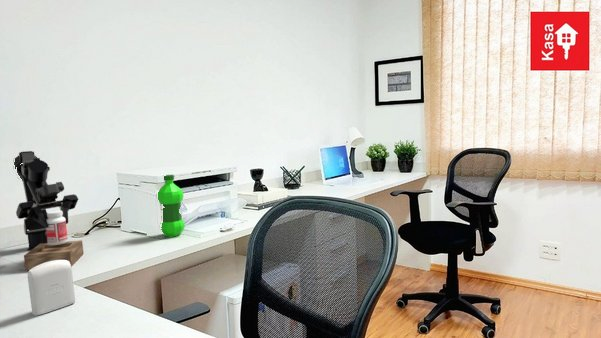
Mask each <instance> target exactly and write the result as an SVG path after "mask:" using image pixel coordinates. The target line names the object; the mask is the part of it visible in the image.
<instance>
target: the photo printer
mask: <svg viewBox="0 0 601 338" xmlns="http://www.w3.org/2000/svg"><path fill="white" fill-rule="evenodd" d="M72 269H73V268H72V267H71V264H70V262H69V261H67V260H54V261H49V262H45V263H43V264H40V265H38V266H36V267H34V268H32V269H30V270H29V271H27V281H28V282H27V283H28V291H29V299H30V307H31V313H32V315H33V316H40V315H43V314H46V313H49V312H50V313H51V312H53V311H55V310H59V309H61V308H64V307H66V306H69V305H72V304H75V303H76V294H75V286H74V278H73V277H74V276H73V270H72Z"/></svg>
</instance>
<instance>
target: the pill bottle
mask: <svg viewBox="0 0 601 338" xmlns="http://www.w3.org/2000/svg"><path fill="white" fill-rule="evenodd" d="M62 215H63V212H62V211H61V210H60V209H59V210H52V211H48V212H47V217H48V219H47V220H46V221H47V224H48V228H46V233H47V242H48V244H49V245H60V244H64V243H66V242H67V241H69V240H68V239H69V238H68V230H67V229H68V228H67V224H66V219H65V218H64V217H62Z"/></svg>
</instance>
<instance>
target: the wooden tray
mask: <svg viewBox="0 0 601 338" xmlns="http://www.w3.org/2000/svg"><path fill="white" fill-rule="evenodd" d="M83 255H85V254H84V243H83V239H82V240H80V239H79V240H68V241H67V242H66V243H64V244H60V245H49V244H48V243H43V244H39V245H38V246H36V247H35V248H34V249H32V250H28V252H27V253H25V254H24V255H23V258H24V269H25V271H26V270H30V269H32V268H34V267H36V266H38V265H40V264H43V263H45V262H49V261H54V260H67V261H69V262H70V264H71V268H72V267H73V266H74V264H76V262H78V261H79V260H80V259H81V257H83Z"/></svg>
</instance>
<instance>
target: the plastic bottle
mask: <svg viewBox="0 0 601 338" xmlns="http://www.w3.org/2000/svg"><path fill="white" fill-rule="evenodd" d="M165 175H166V176H164V175H163V176H164V180H163V181H164V184H163V185H162V186H160V188H159V189H160V190H159V189H158V190H159V192H158V200H159V202H158V203H160V205H161V204H163V206H164V207H165V208H163V223H162V227H161V228H162V229H160V231H161V230H162V231H161V233H162V232H163V233H164V235H165V236H166V237H167V238H171V237H172V238H174V237H177V236H178V237H179V236H180V234H182V232H183V231H184V229H185V227H186V226H185V225H186V224H185V222H184V220H183V219H182V213H181V214H180V213H179V209H180V207H181V208H182V205H181V204H182V203H181V202H182V201H183V200H184V192H183V189H182V188H180V187H179V186H177V185H176V184H175V183H174V180H175V174H165ZM158 200H157V201H158ZM163 233H162V234H163Z"/></svg>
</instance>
